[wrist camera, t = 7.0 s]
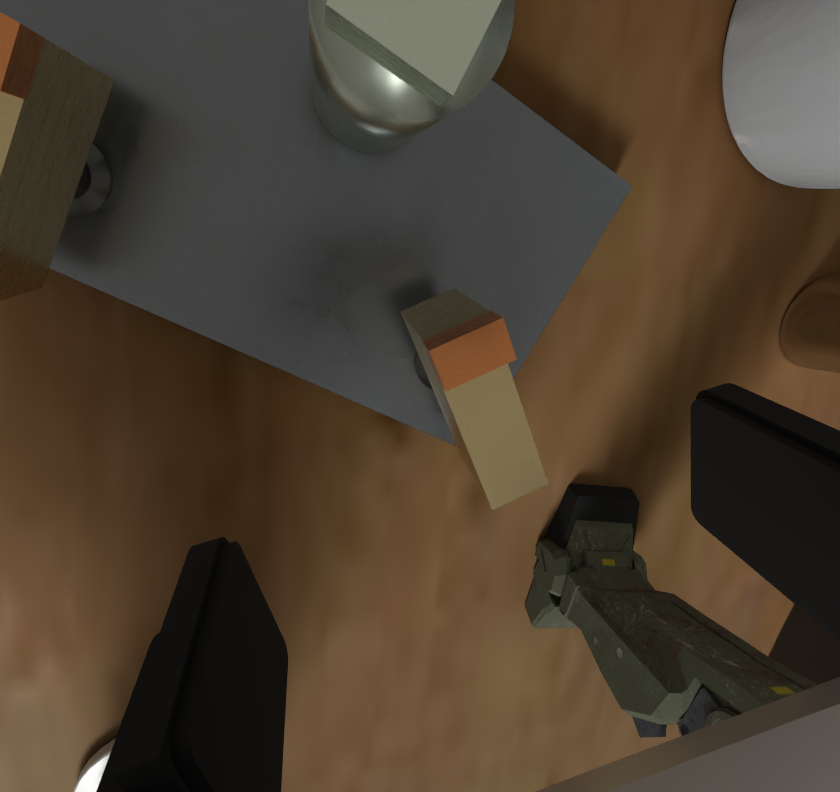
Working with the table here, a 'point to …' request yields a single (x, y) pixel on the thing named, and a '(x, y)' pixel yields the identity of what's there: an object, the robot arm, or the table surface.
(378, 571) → the table surface
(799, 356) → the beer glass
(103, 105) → the knob
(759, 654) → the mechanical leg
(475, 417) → the knob
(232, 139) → the level plate
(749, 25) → the utensil holder
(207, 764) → the robot arm
